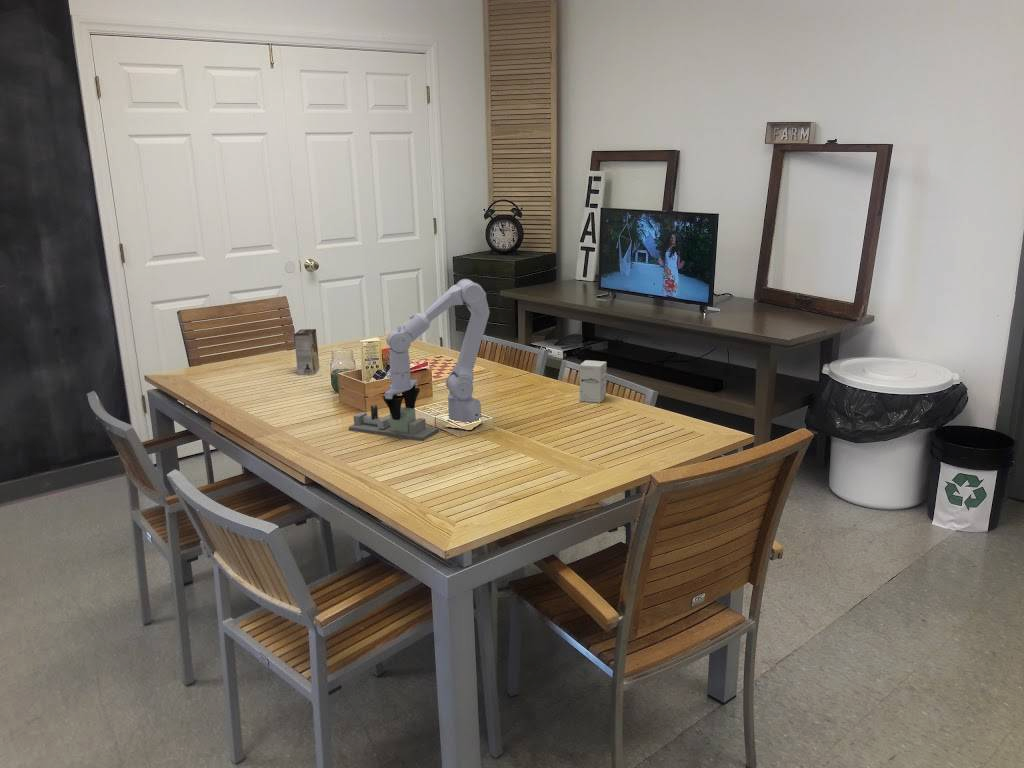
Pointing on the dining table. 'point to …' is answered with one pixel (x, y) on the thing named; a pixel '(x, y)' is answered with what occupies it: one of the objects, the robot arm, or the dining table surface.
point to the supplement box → (592, 381)
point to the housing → (403, 420)
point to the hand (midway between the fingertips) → (403, 415)
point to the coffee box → (306, 351)
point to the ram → (376, 418)
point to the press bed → (415, 431)
